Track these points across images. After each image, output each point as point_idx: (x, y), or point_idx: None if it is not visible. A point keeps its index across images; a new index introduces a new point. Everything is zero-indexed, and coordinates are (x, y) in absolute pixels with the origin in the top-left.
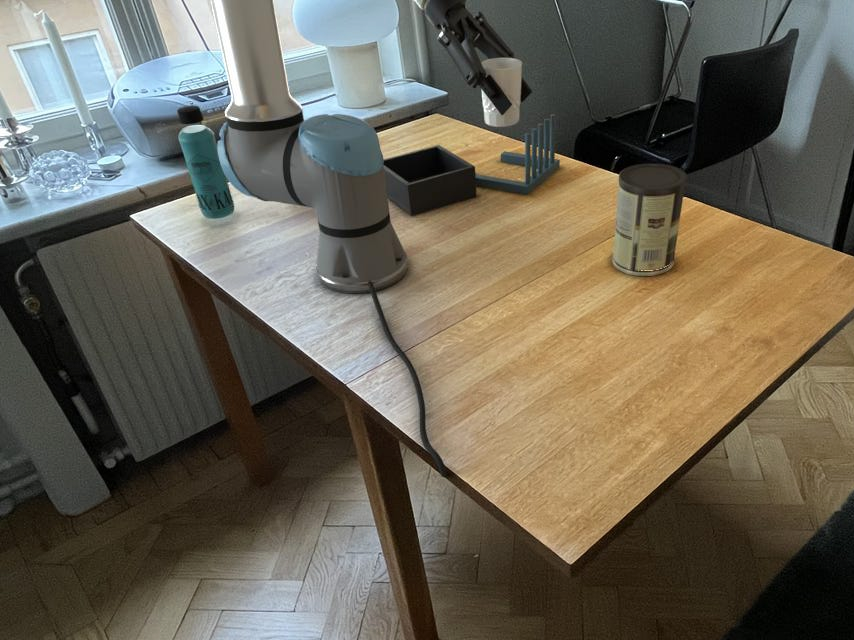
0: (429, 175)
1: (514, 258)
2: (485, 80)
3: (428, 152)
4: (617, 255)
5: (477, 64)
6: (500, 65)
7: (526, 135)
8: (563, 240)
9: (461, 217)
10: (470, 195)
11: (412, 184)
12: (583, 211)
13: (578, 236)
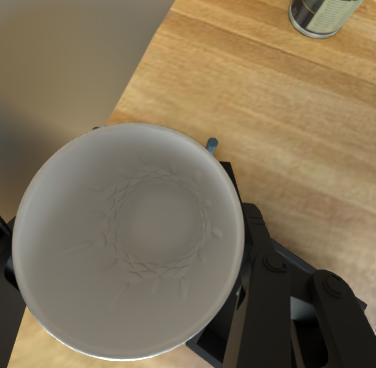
0: (210, 325)
1: (362, 121)
2: (263, 246)
3: (211, 351)
4: (348, 18)
5: (290, 325)
6: (53, 265)
7: (217, 143)
8: (306, 89)
9: (302, 217)
10: None
11: (358, 299)
12: (234, 90)
13: (291, 79)
